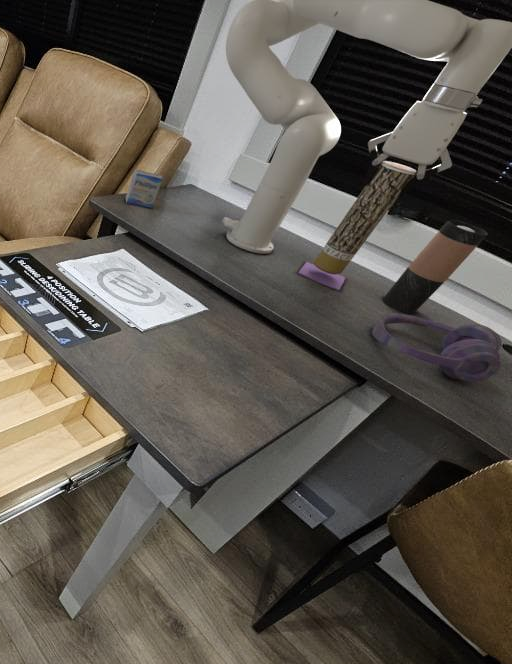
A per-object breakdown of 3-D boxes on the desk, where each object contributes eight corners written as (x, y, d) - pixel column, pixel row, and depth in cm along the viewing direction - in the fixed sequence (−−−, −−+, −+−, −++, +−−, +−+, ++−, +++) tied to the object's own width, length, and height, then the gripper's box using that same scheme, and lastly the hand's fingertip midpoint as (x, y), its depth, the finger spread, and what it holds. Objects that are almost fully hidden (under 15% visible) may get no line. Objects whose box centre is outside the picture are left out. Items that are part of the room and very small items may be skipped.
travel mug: (422, 317, 108) (496, 238, 94) (390, 309, 108) (459, 229, 95) (407, 300, 114) (475, 224, 100) (376, 293, 114) (440, 216, 101)
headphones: (485, 360, 95) (373, 326, 106) (513, 326, 90) (393, 293, 101) (481, 397, 84) (357, 355, 95) (513, 360, 79) (378, 320, 90)
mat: (297, 273, 116) (298, 272, 115) (305, 262, 122) (306, 261, 122) (338, 290, 112) (339, 289, 111) (344, 278, 118) (345, 277, 118)
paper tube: (316, 260, 119) (385, 159, 102) (343, 271, 116) (419, 170, 99) (309, 266, 115) (379, 162, 98) (336, 278, 112) (414, 173, 95)
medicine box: (125, 203, 135) (136, 173, 129) (125, 198, 138) (135, 168, 132) (151, 208, 134) (163, 178, 129) (150, 203, 138) (161, 174, 132)
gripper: (497, 110, 89) (426, 200, 101) (400, 87, 96) (344, 174, 108) (500, 113, 84) (425, 207, 96) (398, 88, 91) (339, 179, 103)
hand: (383, 189), depth 102 cm, fingers closed on paper tube, 6 cm apart
